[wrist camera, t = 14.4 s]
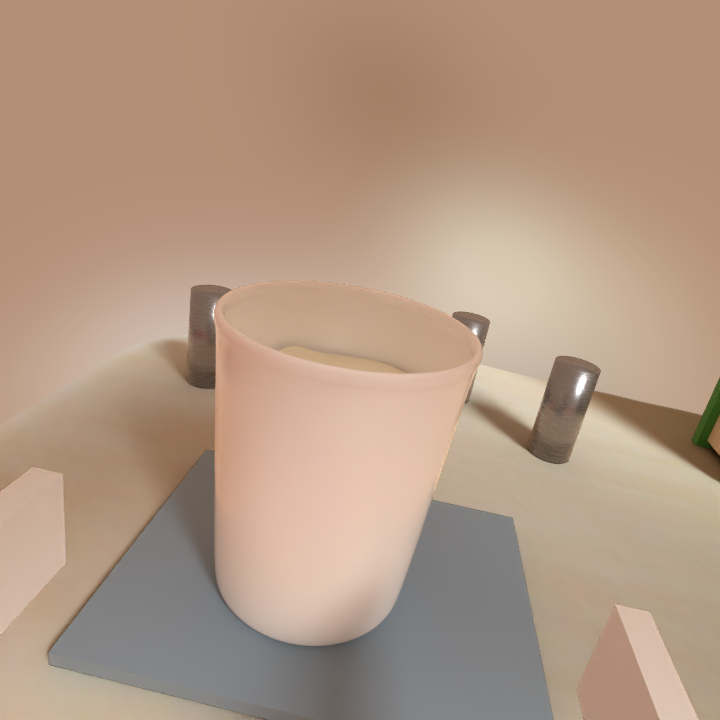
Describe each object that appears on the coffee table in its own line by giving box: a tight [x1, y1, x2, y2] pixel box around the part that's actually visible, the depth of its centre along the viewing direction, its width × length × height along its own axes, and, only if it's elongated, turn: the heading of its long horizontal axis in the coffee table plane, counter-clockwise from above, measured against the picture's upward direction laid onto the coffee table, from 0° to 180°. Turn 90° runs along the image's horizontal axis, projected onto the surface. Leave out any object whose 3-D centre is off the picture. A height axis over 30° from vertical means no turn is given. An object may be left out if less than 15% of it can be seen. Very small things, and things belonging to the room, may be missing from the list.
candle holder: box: [214, 281, 483, 646], centre depth 22 cm, size 10×10×12 cm
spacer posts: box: [186, 285, 601, 464], centre depth 43 cm, size 29×10×7 cm, turn 82°
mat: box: [48, 450, 553, 720], centre depth 25 cm, size 18×14×1 cm
